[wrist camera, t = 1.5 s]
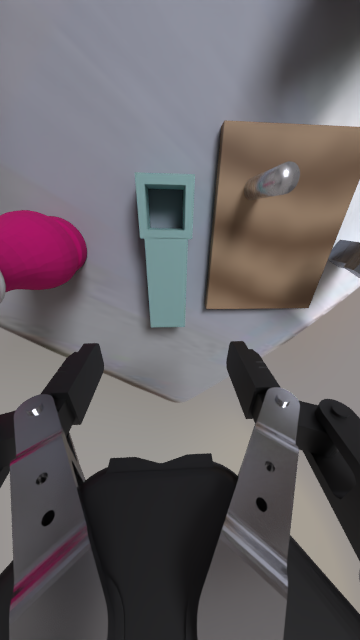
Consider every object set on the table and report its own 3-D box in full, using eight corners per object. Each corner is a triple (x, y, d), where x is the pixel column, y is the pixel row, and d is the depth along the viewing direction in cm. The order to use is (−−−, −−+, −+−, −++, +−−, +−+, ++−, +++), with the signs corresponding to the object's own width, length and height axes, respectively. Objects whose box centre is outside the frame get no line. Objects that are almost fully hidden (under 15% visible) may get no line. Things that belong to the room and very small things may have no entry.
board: (221, 126, 18) (224, 120, 17) (368, 132, 19) (379, 127, 18) (204, 305, 27) (206, 308, 26) (303, 304, 28) (308, 308, 27)
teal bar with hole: (186, 314, 28) (188, 326, 25) (149, 314, 27) (147, 327, 24) (190, 180, 20) (195, 174, 17) (139, 179, 20) (134, 172, 16)
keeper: (298, 253, 24) (353, 270, 17) (328, 214, 22) (406, 214, 15) (330, 274, 26) (393, 297, 19) (361, 239, 24) (446, 250, 16)
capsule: (241, 178, 20) (277, 160, 13) (259, 179, 20) (303, 161, 14) (238, 200, 21) (270, 194, 14) (255, 201, 21) (295, 194, 15)
